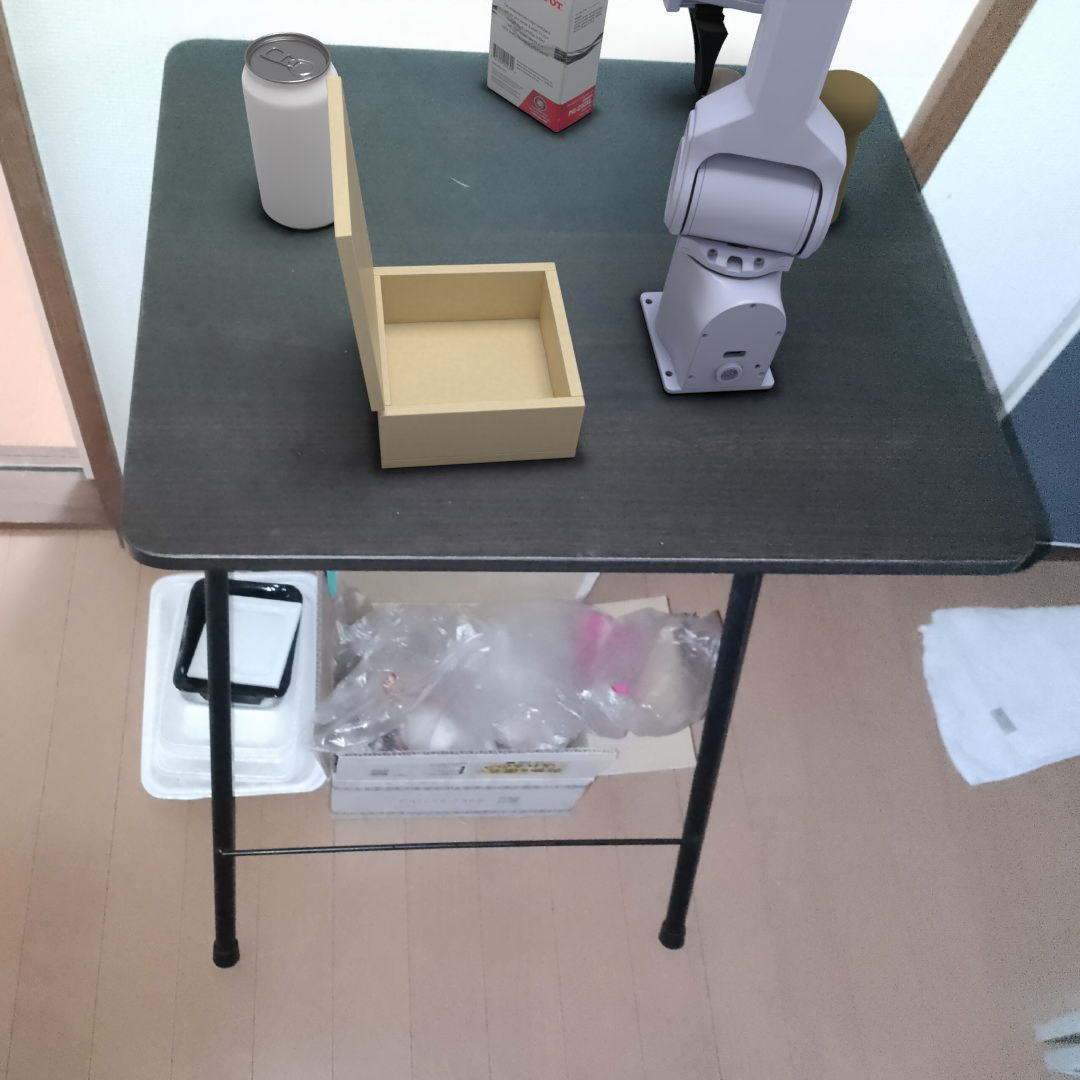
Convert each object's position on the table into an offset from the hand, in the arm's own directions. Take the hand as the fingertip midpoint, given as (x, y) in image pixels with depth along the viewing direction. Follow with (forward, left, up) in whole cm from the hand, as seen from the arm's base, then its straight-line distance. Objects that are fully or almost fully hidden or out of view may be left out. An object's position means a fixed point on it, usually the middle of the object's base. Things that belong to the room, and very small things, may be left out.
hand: (726, 88), depth 87 cm
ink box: (0, +17, -2) cm, 17 cm away
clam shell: (0, 0, -2) cm, 2 cm away
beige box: (-32, +26, -1) cm, 41 cm away
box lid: (-31, +32, +11) cm, 47 cm away
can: (-13, +37, -2) cm, 39 cm away
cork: (-14, -3, -2) cm, 14 cm away
